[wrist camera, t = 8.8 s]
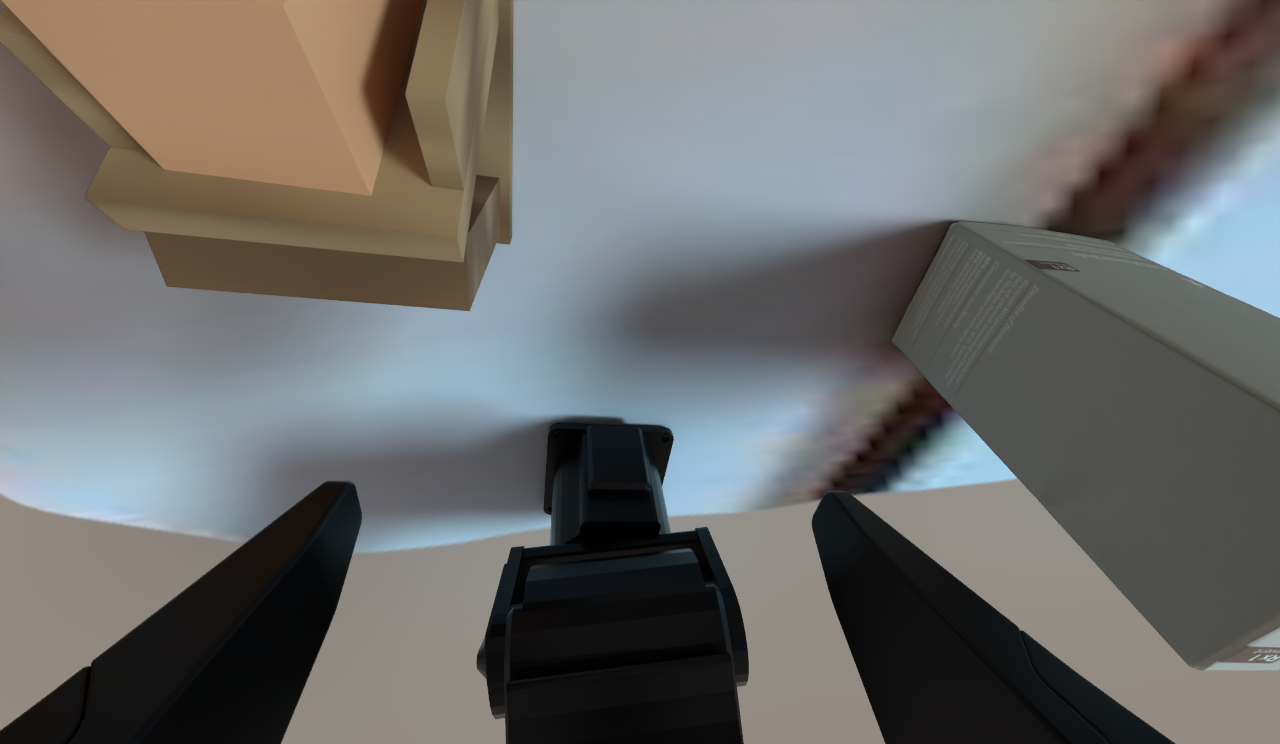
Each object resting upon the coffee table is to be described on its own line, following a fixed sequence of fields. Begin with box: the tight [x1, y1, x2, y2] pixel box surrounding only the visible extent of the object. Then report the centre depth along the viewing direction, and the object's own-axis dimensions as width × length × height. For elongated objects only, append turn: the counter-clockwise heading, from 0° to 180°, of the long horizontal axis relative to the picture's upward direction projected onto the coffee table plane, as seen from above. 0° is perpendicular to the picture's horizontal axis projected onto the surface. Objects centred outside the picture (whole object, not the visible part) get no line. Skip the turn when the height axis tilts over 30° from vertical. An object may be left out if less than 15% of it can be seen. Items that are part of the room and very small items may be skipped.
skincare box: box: [892, 221, 1280, 671], centre depth 17 cm, size 8×7×16 cm
